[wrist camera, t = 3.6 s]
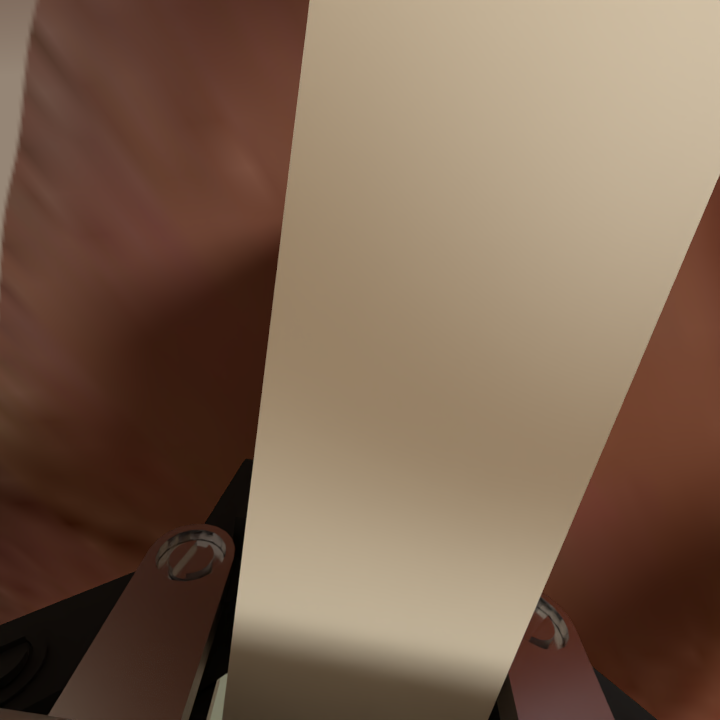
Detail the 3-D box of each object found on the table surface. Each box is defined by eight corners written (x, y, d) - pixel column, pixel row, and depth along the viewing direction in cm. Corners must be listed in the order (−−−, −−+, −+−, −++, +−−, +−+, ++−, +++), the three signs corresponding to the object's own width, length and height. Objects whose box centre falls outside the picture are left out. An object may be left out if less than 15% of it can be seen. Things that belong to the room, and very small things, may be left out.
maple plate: (369, 200, 17) (321, -102, 2) (435, 213, 17) (794, -3, 2) (314, 501, 21) (184, 1026, 7) (366, 510, 21) (345, 1054, 7)
